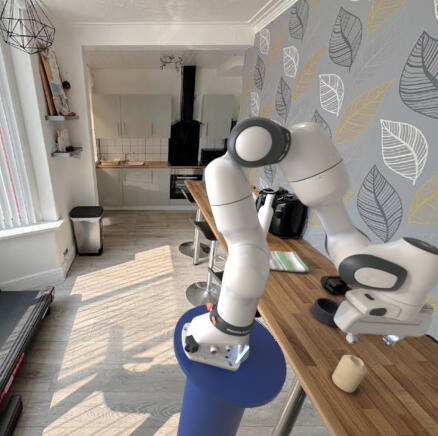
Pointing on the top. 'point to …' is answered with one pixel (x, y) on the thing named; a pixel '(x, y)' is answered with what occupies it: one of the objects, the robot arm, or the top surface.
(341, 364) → the candle
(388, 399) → the top surface
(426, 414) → the top surface
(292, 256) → the dish towel
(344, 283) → the end cap
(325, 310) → the holder
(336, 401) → the top surface
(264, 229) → the bottle
